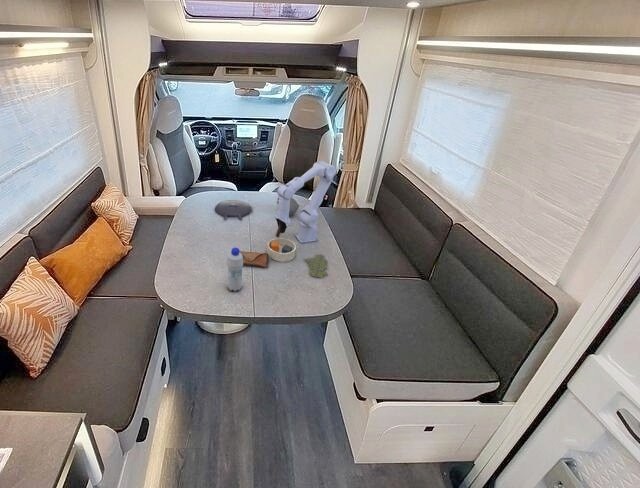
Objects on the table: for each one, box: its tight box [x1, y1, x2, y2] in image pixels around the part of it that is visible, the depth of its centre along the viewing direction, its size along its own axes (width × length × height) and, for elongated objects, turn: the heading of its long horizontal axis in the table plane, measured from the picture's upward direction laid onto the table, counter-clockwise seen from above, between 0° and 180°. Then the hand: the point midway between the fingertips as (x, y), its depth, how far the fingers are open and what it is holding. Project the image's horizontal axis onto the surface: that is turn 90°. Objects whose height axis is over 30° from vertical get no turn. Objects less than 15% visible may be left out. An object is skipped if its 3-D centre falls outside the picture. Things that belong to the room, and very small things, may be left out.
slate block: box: [282, 245, 292, 253], centre depth 157 cm, size 4×4×4 cm
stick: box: [275, 225, 281, 238], centre depth 162 cm, size 2×2×9 cm
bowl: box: [266, 237, 297, 263], centre depth 158 cm, size 14×14×5 cm
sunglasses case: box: [240, 250, 269, 269], centre depth 151 cm, size 18×7×7 cm
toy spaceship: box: [214, 199, 253, 221], centre depth 200 cm, size 28×24×3 cm
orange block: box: [271, 242, 279, 252], centre depth 160 cm, size 4×4×4 cm
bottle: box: [226, 247, 243, 292], centre depth 131 cm, size 7×7×20 cm
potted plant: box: [276, 197, 300, 217], centre depth 198 cm, size 12×13×15 cm
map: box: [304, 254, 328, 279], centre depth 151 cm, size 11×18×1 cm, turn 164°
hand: (281, 231), depth 163 cm, fingers closed on stick, 2 cm apart
